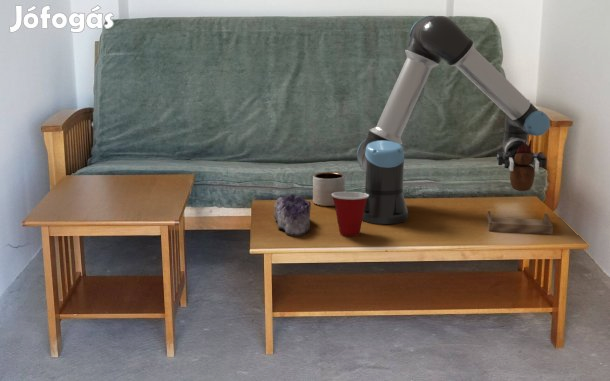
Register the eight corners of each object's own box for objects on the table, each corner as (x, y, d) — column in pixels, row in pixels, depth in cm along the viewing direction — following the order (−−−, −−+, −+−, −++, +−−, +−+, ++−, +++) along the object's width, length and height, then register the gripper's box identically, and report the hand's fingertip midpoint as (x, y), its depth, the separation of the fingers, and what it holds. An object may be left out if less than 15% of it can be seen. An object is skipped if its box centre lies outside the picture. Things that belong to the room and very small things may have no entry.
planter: (332, 208, 229) (332, 180, 227) (306, 203, 235) (306, 176, 233) (351, 202, 237) (351, 174, 235) (325, 197, 244) (325, 170, 241)
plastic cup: (371, 229, 206) (371, 189, 203) (365, 240, 196) (365, 198, 193) (335, 226, 209) (335, 188, 206) (327, 237, 199) (327, 196, 196)
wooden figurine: (535, 189, 206) (538, 139, 202) (530, 193, 201) (533, 142, 198) (512, 186, 209) (515, 137, 206) (507, 190, 205) (509, 140, 201)
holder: (489, 231, 203) (489, 222, 203) (487, 218, 216) (487, 211, 215) (552, 234, 200) (552, 226, 199) (546, 221, 212) (547, 213, 212)
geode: (321, 235, 201) (317, 203, 198) (282, 243, 200) (277, 210, 197) (310, 214, 220) (305, 184, 217) (274, 220, 219) (269, 190, 216)
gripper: (548, 164, 219) (559, 180, 197) (485, 162, 223) (489, 178, 201) (550, 141, 218) (561, 154, 196) (487, 139, 221) (490, 153, 200)
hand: (524, 166), depth 199 cm, fingers closed on wooden figurine, 6 cm apart
